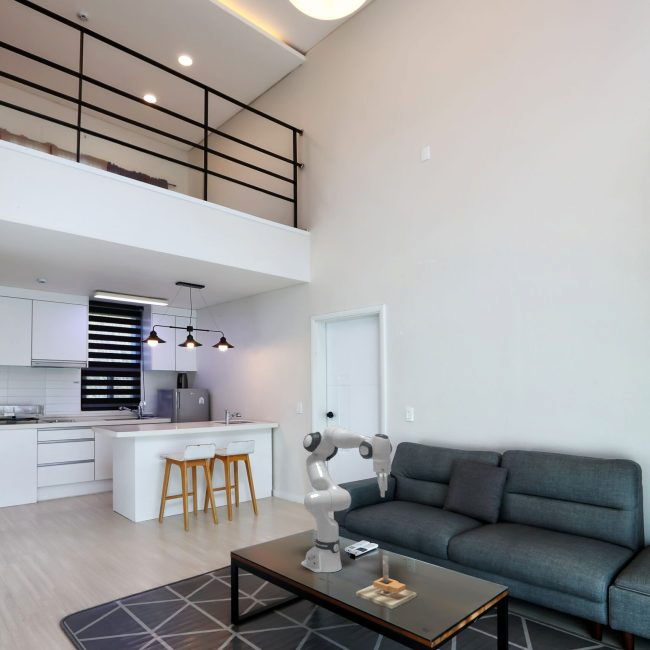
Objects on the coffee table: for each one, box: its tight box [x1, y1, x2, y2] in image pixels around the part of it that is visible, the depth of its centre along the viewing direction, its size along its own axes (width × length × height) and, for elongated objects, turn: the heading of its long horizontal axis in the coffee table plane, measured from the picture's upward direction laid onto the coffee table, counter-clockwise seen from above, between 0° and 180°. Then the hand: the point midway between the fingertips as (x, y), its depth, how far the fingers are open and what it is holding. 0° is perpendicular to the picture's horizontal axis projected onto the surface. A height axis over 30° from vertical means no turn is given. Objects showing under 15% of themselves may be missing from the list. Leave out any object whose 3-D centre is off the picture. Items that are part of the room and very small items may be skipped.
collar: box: [372, 577, 407, 594], centre depth 222 cm, size 12×8×2 cm, turn 45°
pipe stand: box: [355, 554, 417, 610], centre depth 224 cm, size 20×18×17 cm
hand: (382, 496), depth 246 cm, fingers closed
